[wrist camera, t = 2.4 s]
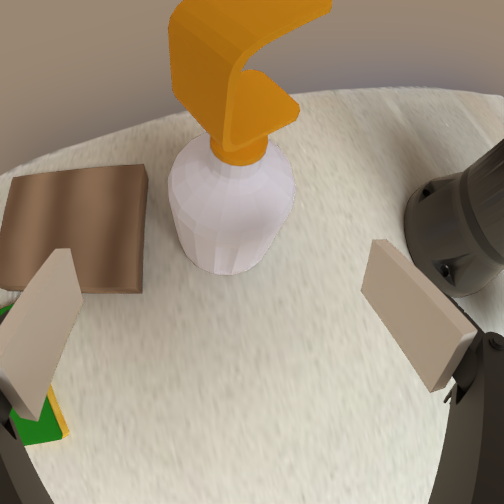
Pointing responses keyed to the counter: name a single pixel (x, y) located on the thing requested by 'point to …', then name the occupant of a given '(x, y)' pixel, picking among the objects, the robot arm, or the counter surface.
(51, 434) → the dish sponge
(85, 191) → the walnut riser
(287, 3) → the soap bottle
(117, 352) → the counter surface
